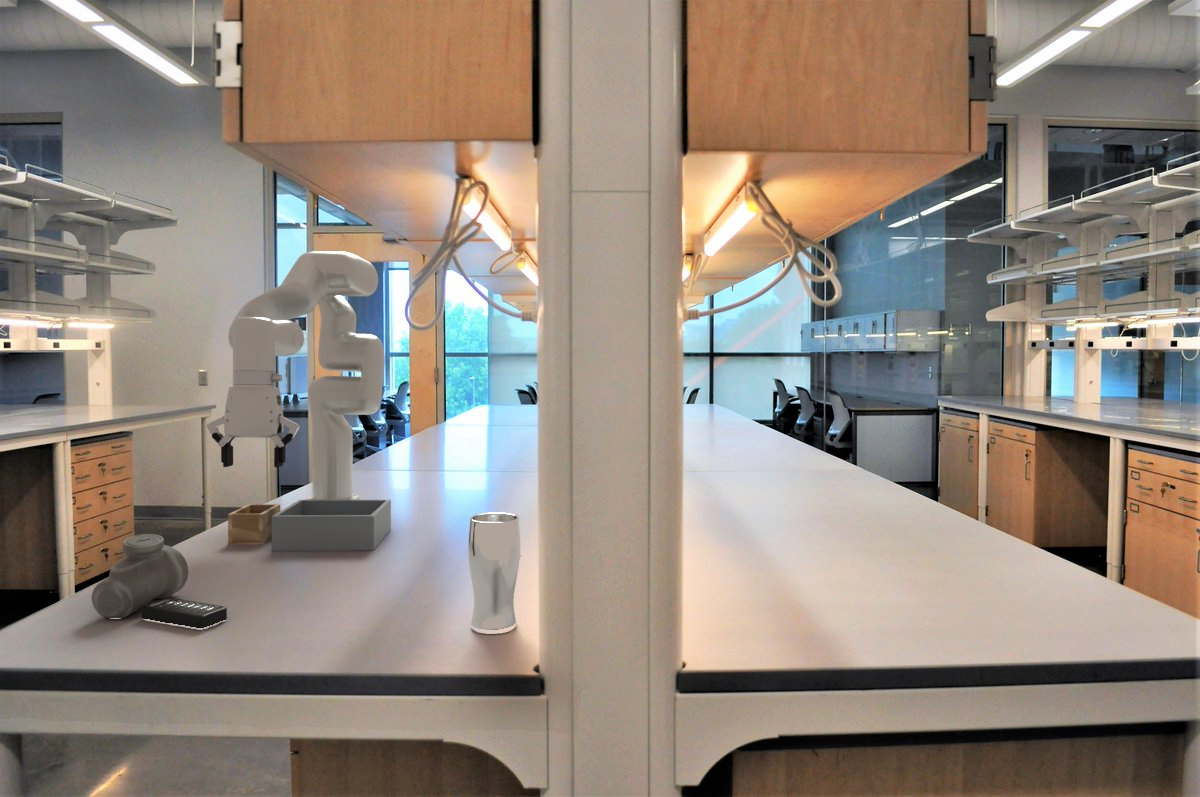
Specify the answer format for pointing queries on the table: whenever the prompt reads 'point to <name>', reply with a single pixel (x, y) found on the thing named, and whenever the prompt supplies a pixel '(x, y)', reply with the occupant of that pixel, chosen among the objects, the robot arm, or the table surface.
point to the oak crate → (251, 524)
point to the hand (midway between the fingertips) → (253, 466)
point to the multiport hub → (184, 612)
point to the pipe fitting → (140, 576)
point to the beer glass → (494, 568)
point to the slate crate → (331, 525)
